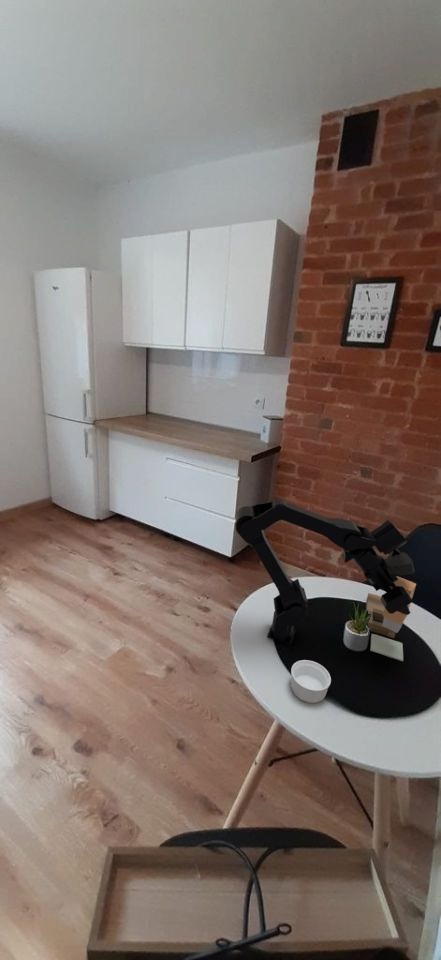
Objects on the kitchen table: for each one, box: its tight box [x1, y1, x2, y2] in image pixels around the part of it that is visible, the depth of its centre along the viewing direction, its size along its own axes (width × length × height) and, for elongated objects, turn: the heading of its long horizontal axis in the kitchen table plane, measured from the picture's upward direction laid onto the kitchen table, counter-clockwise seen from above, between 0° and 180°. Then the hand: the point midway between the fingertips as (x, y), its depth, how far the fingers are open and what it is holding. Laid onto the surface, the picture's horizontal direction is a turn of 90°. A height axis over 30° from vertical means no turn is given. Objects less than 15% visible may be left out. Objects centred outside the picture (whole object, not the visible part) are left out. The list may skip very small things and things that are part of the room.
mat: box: [370, 633, 404, 662], centre depth 105 cm, size 7×8×1 cm
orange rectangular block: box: [381, 576, 417, 634], centre depth 101 cm, size 5×5×13 cm
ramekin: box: [290, 659, 332, 704], centre depth 89 cm, size 9×9×4 cm
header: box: [365, 592, 397, 639], centre depth 117 cm, size 16×8×2 cm, turn 158°
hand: (403, 605), depth 101 cm, fingers closed on orange rectangular block, 7 cm apart
